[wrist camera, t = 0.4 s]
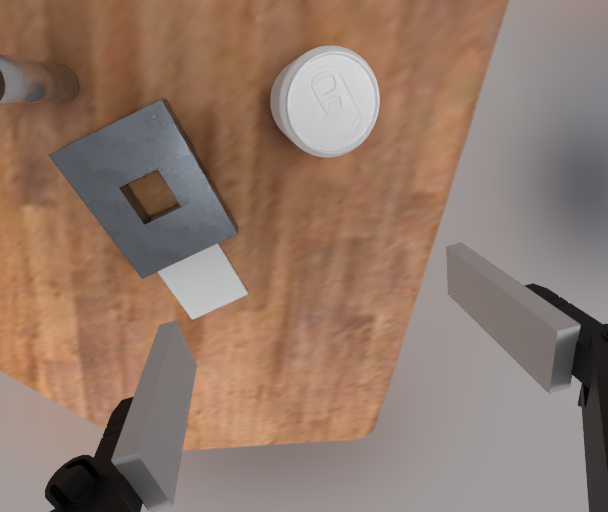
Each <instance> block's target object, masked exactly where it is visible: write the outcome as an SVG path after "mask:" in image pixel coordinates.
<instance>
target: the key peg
mask: <svg viewBox="0 0 608 512" xmlns="http://www.w3.org/2000/svg"><path fill="white" fill-rule="evenodd" d="M79 90H80V86H79V81H78V79H77V77H76V75H75V74H74V73H73V72H72V71H71V70H70V69H69V68H67V67H65V66H63V65H60V64H54V63H48V62H42V61H37V60H31V59H25V58H19V57H13V56H7V55H1V54H0V104H15V103H44V102H68V101H72V100H74V99H75V98H76V97H77V96H78V94H79Z"/></svg>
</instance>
